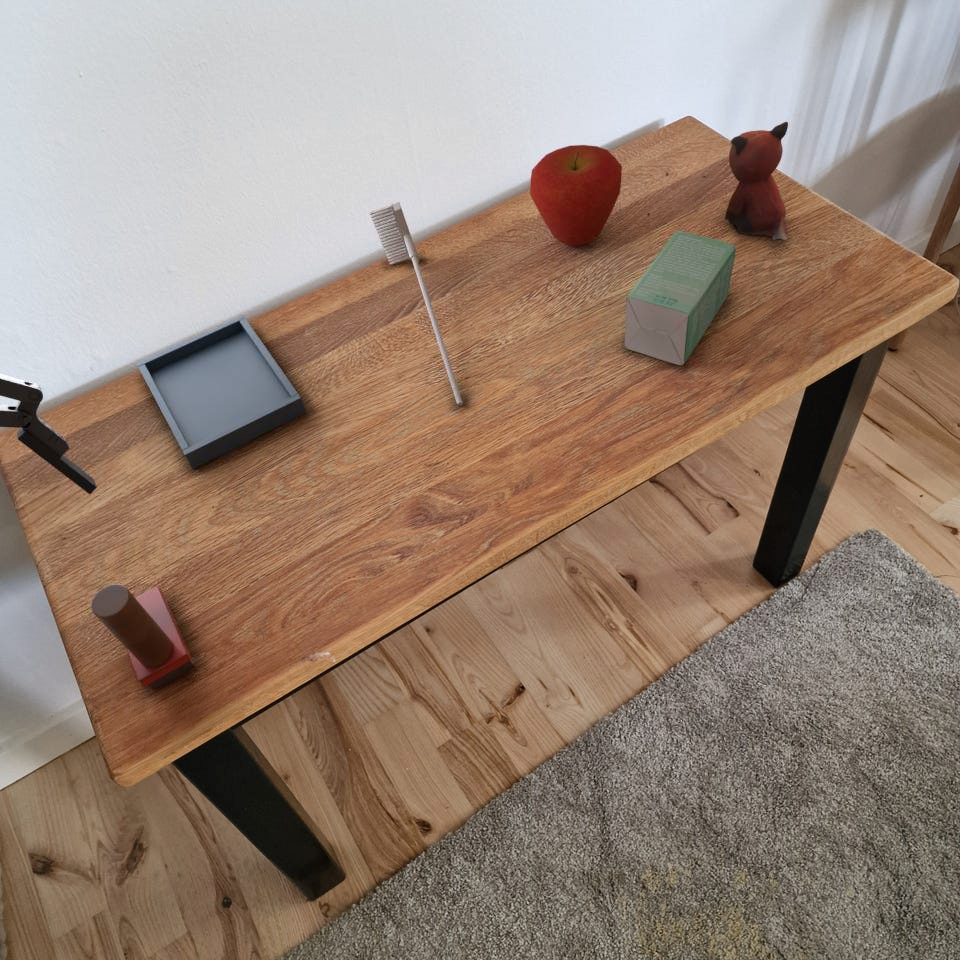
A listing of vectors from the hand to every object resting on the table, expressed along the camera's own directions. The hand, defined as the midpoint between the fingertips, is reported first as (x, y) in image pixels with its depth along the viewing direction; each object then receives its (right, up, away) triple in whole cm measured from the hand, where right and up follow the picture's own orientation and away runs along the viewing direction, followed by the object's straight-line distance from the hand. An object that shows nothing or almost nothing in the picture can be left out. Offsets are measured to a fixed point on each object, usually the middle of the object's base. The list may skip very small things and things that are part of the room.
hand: (27, 551), depth 64 cm
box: (+58, +24, +31) cm, 70 cm away
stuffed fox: (+70, +37, +40) cm, 89 cm away
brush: (+29, +24, +35) cm, 52 cm away
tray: (+5, +15, +31) cm, 35 cm away
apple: (+48, +37, +43) cm, 74 cm away
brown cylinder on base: (+6, -10, +11) cm, 16 cm away
